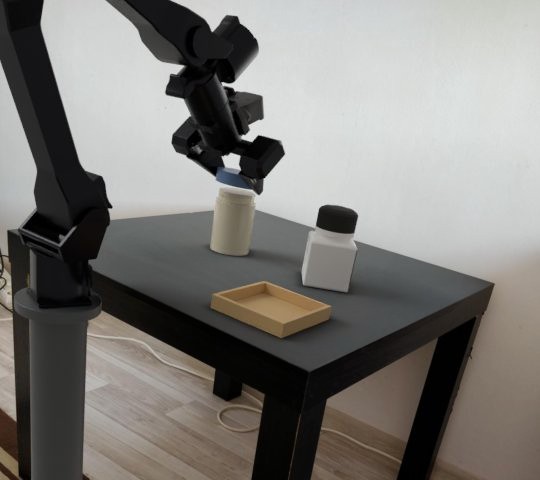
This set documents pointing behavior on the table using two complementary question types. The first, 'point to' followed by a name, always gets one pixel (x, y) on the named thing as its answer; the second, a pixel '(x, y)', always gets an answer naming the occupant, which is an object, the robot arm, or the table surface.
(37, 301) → the robot arm
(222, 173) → the jar lid
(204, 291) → the table surface
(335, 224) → the medicine bottle
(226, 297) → the tray
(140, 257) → the table surface
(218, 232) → the jar
